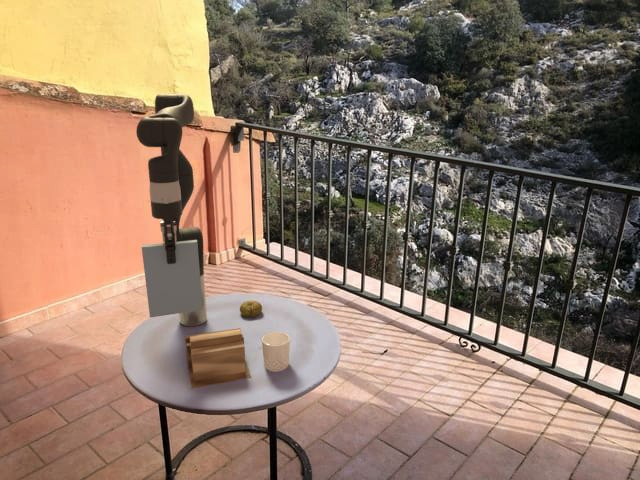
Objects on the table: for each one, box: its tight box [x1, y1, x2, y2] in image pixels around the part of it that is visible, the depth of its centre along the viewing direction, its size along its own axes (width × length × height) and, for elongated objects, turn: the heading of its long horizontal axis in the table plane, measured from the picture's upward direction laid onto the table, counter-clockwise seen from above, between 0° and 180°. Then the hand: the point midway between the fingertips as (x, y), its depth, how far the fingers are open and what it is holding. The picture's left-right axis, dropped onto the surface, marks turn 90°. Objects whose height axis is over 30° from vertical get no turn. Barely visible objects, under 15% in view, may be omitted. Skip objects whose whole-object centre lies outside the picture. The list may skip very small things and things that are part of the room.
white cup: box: [261, 331, 291, 373], centre depth 136 cm, size 8×8×10 cm
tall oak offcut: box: [190, 328, 243, 370], centre depth 135 cm, size 3×14×10 cm, turn 109°
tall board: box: [141, 240, 203, 318], centre depth 129 cm, size 2×14×20 cm, turn 109°
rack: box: [184, 327, 252, 389], centre depth 135 cm, size 16×16×8 cm
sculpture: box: [239, 300, 263, 318], centre depth 171 cm, size 8×4×8 cm
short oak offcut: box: [191, 341, 246, 381], centre depth 132 cm, size 3×14×8 cm, turn 109°
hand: (171, 261), depth 127 cm, fingers closed on tall board, 2 cm apart
